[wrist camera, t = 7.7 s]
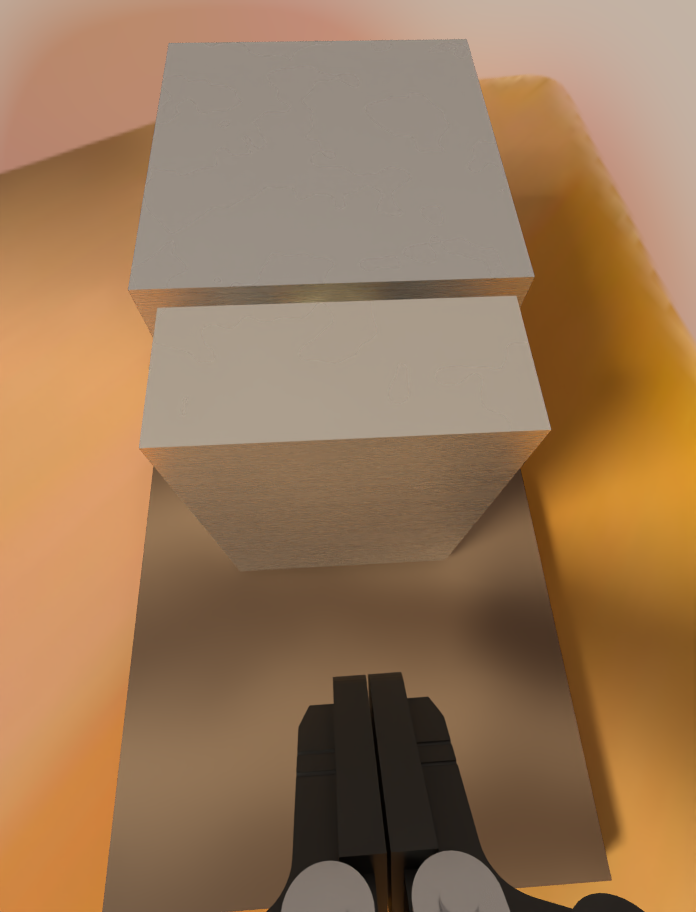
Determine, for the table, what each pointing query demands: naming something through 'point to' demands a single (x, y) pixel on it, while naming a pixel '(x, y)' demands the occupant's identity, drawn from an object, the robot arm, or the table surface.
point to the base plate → (311, 683)
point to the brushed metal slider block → (341, 424)
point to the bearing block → (324, 178)
